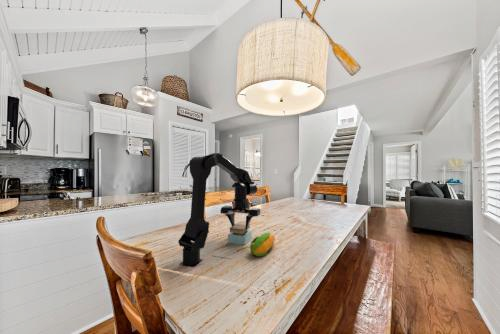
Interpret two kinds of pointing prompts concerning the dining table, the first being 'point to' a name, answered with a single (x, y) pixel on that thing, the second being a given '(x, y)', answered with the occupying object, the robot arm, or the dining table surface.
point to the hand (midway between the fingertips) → (240, 228)
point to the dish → (240, 237)
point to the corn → (262, 244)
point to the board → (239, 228)
